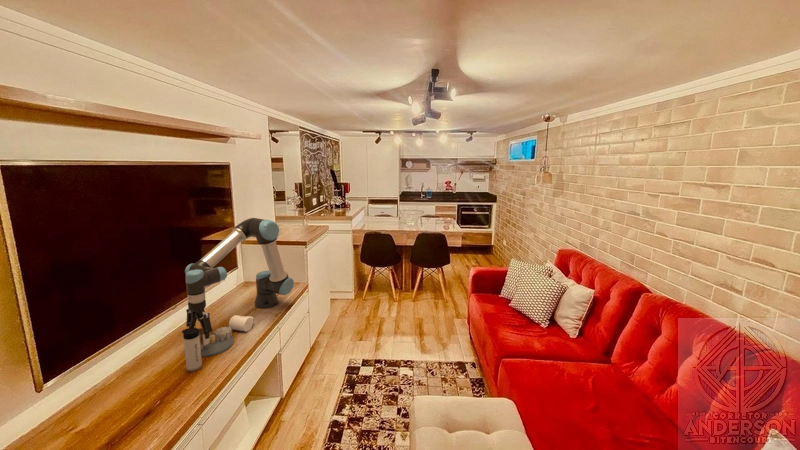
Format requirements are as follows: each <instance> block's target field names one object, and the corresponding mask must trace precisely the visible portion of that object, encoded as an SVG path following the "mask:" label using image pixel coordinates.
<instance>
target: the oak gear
mask: <svg viewBox="0 0 800 450" xmlns="http://www.w3.org/2000/svg"><path fill="white" fill-rule="evenodd" d="M197 329H198V330H199V337H200V346H201V345H204V344H203V333H204V332H203V329H202V327H201V328H197ZM209 341H210V334H209Z"/></svg>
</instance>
